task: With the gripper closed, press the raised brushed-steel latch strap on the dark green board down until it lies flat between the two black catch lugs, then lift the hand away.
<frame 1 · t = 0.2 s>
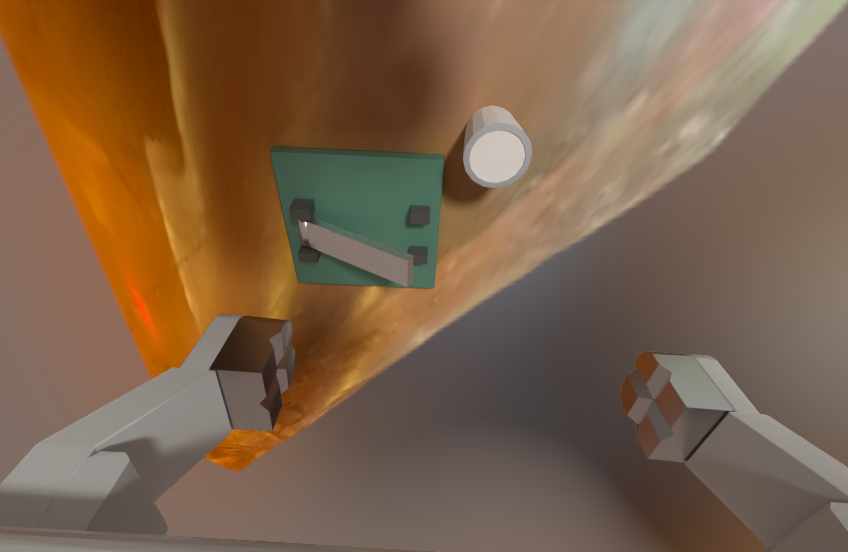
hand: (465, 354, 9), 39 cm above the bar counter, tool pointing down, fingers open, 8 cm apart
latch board: (363, 222, 53), on the bar counter
steel strap: (352, 248, 49), point 6 cm above the bar counter, hinge at 28.0°
white cylinder: (489, 130, 45), on the bar counter
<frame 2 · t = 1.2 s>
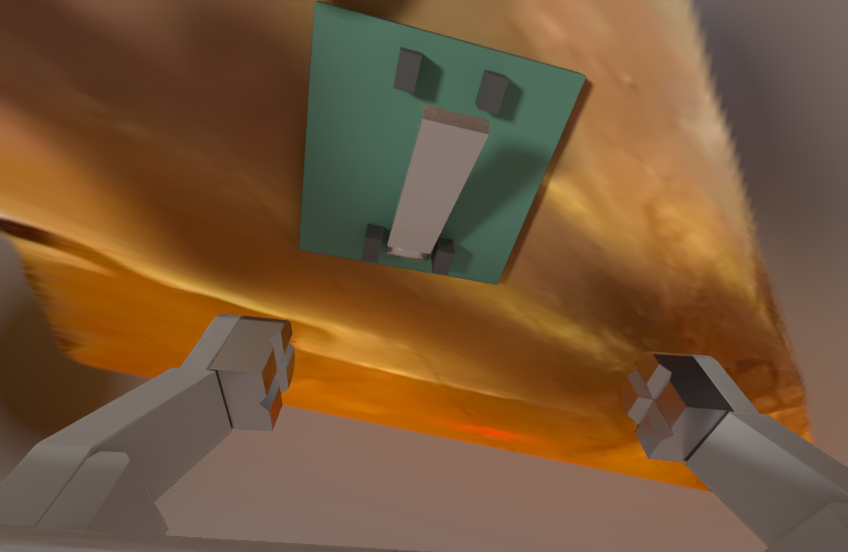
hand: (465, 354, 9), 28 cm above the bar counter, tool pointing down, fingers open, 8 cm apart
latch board: (424, 166, 35), on the bar counter
steel strap: (425, 201, 31), point 6 cm above the bar counter, hinge at 28.0°
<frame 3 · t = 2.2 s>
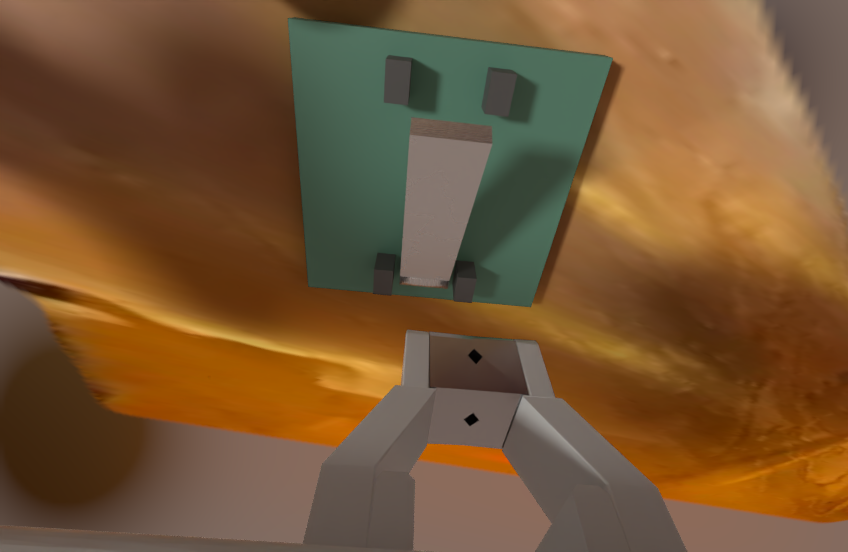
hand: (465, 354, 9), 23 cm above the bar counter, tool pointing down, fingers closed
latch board: (434, 184, 31), on the bar counter
steel strap: (433, 226, 27), point 6 cm above the bar counter, hinge at 28.0°
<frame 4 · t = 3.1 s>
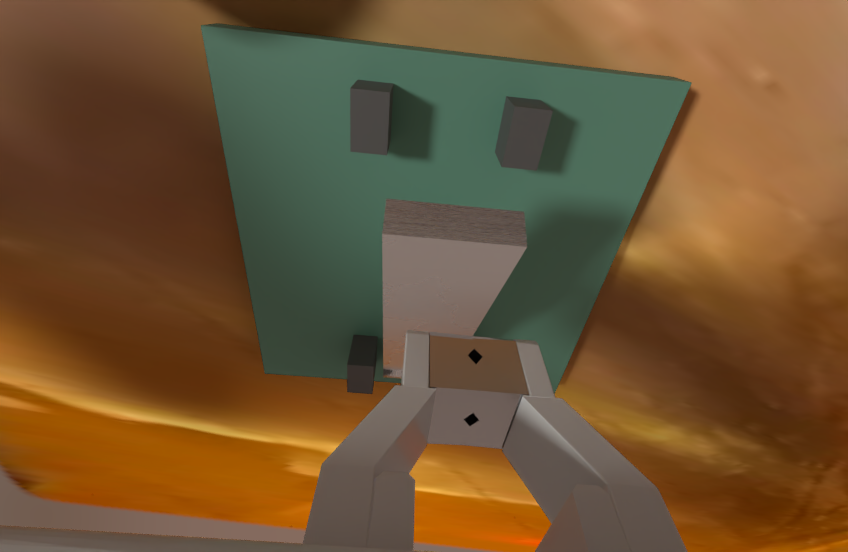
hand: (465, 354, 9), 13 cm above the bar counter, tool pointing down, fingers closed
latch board: (428, 248, 23), on the bar counter
steel strap: (427, 324, 18), point 6 cm above the bar counter, hinge at 28.0°
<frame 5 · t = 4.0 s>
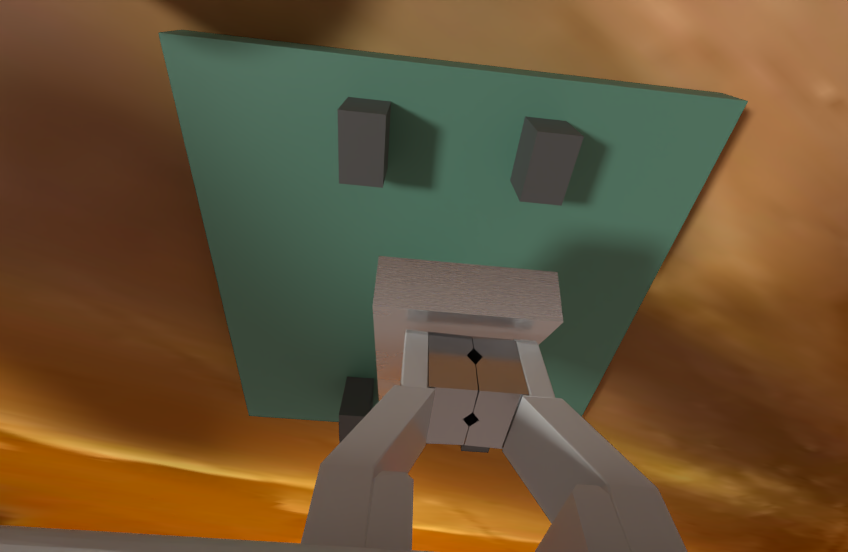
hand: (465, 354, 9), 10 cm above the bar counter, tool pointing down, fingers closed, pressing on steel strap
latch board: (430, 282, 20), on the bar counter
steel strap: (430, 379, 16), point 6 cm above the bar counter, hinge at 27.3°, touching gripper
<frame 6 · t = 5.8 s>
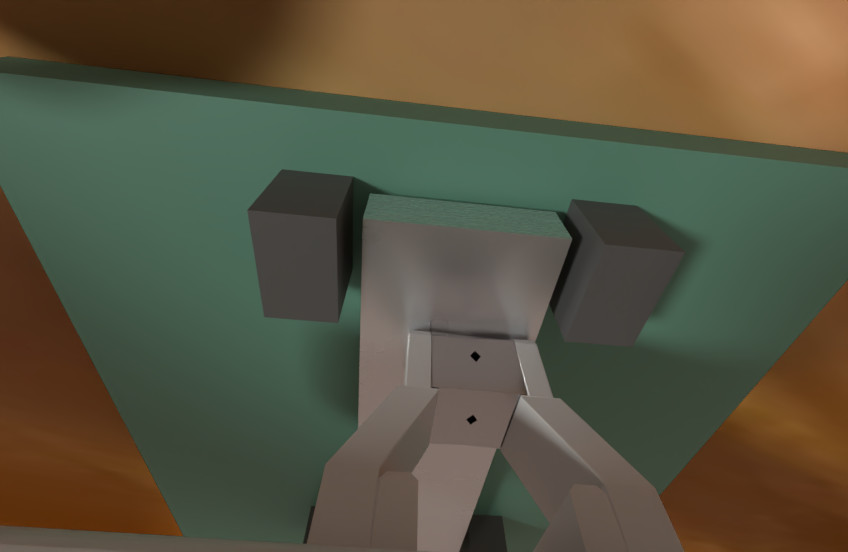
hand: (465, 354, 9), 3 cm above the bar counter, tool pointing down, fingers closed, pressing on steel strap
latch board: (422, 393, 15), on the bar counter
steel strap: (423, 449, 13), point 2 cm above the bar counter, hinge at -0.3°, touching gripper
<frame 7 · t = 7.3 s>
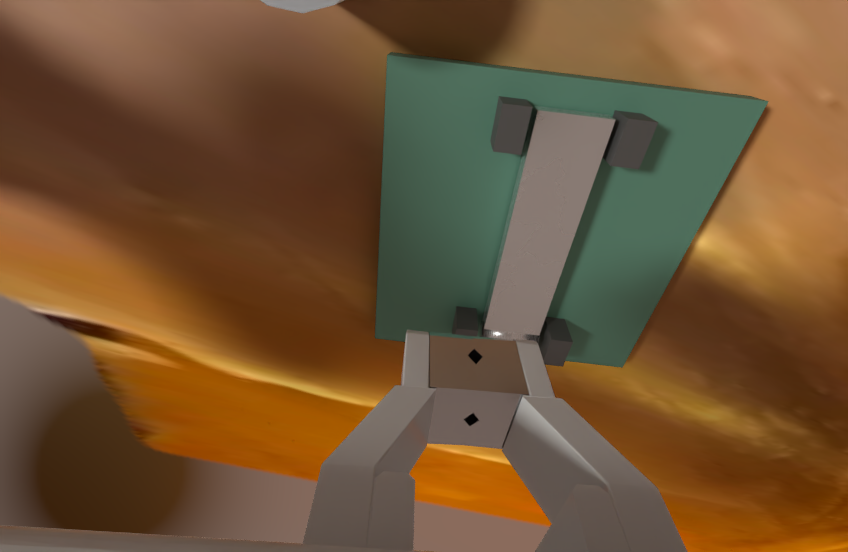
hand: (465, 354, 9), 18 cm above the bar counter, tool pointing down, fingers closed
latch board: (526, 234, 28), on the bar counter
steel strap: (533, 248, 25), point 2 cm above the bar counter, hinge at -0.3°
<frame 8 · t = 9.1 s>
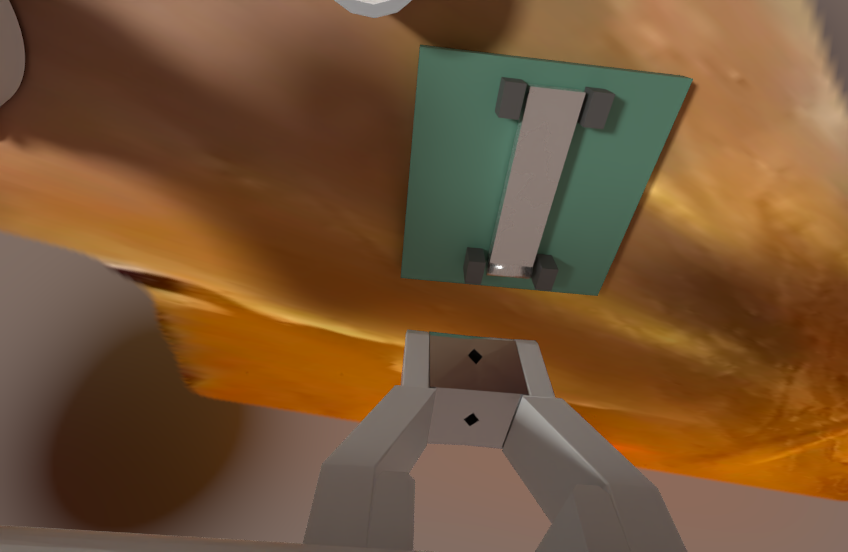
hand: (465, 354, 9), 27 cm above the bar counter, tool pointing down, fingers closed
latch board: (521, 186, 35), on the bar counter
steel strap: (527, 194, 33), point 2 cm above the bar counter, hinge at -0.3°
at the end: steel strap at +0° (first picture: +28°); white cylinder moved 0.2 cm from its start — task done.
